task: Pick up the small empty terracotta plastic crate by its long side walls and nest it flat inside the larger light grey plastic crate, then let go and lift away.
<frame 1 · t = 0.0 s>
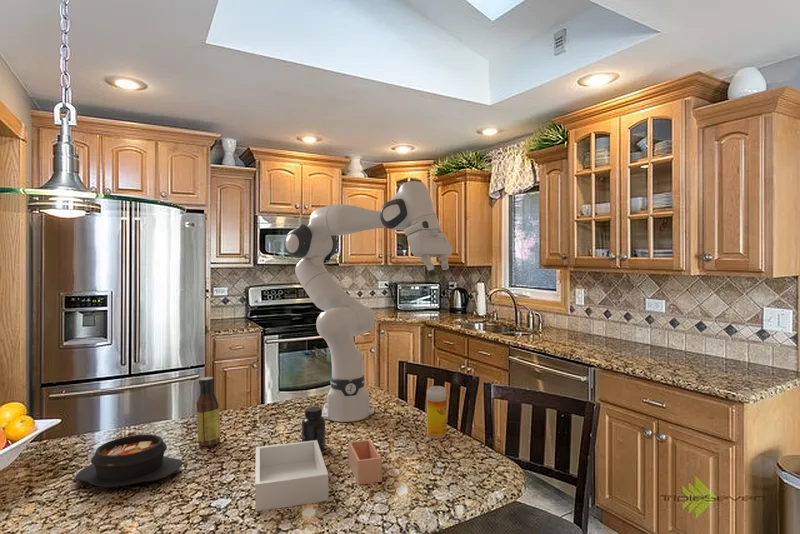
hand: (438, 269, 147), 52 cm above the kitchen island, tool tilted 20°, fingers open, 8 cm apart
terracotta crate: (364, 472, 122), on the kitchen island
supplement bottle: (313, 450, 137), on the kitchen island
sauce bottle: (208, 443, 143), on the kitchen island
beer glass: (436, 436, 147), on the kitchen island
casserole: (130, 477, 121), on the kitchen island
grey crate: (289, 484, 116), on the kitchen island
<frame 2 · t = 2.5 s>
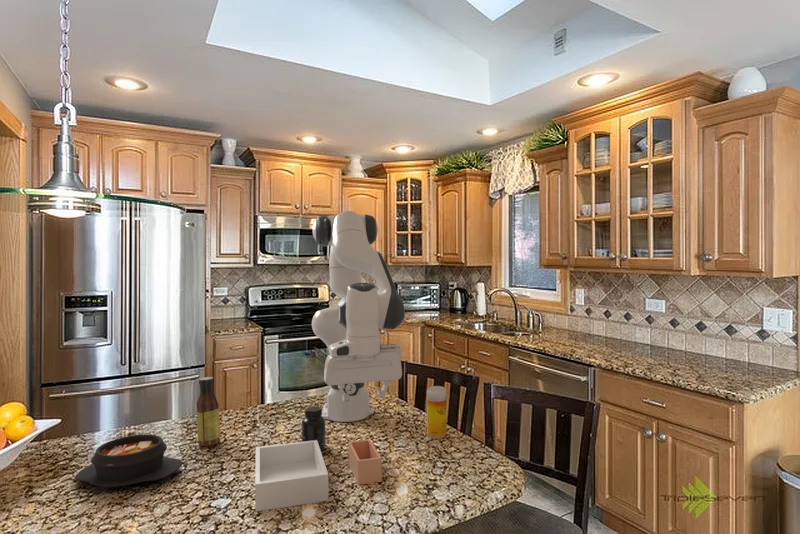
hand: (363, 399, 122), 19 cm above the kitchen island, tool pointing down, fingers open, 8 cm apart
nothing on the kitchen island moved.
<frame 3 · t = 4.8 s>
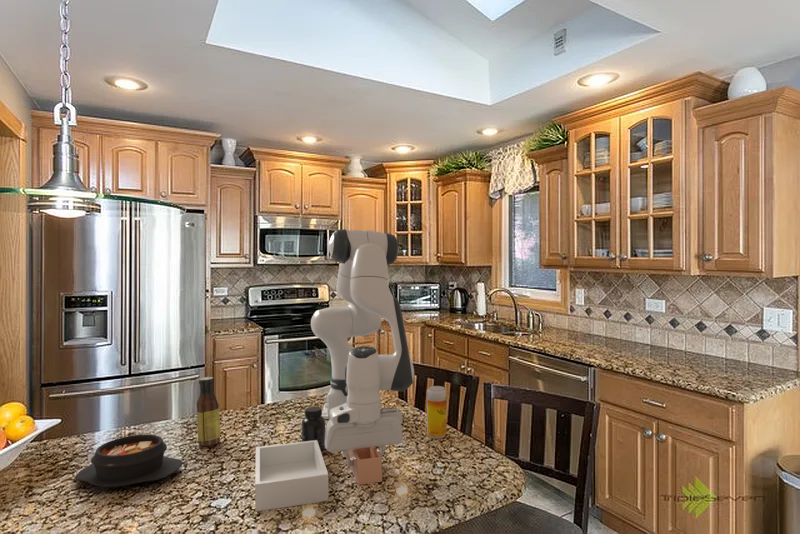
hand: (364, 463, 122), 2 cm above the kitchen island, tool pointing down, fingers closed on terracotta crate, 6 cm apart
terracotta crate: (364, 472, 122), on the kitchen island, touching gripper
everything else where it was.
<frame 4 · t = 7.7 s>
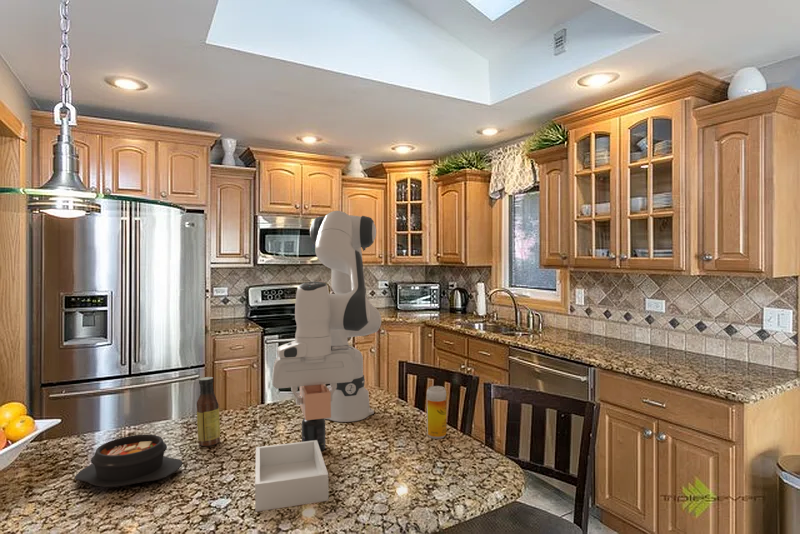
hand: (314, 402, 118), 20 cm above the kitchen island, tool pointing down, fingers closed on terracotta crate, 6 cm apart
terracotta crate: (314, 411, 118), point 17 cm above the kitchen island, touching gripper
everything else where it was.
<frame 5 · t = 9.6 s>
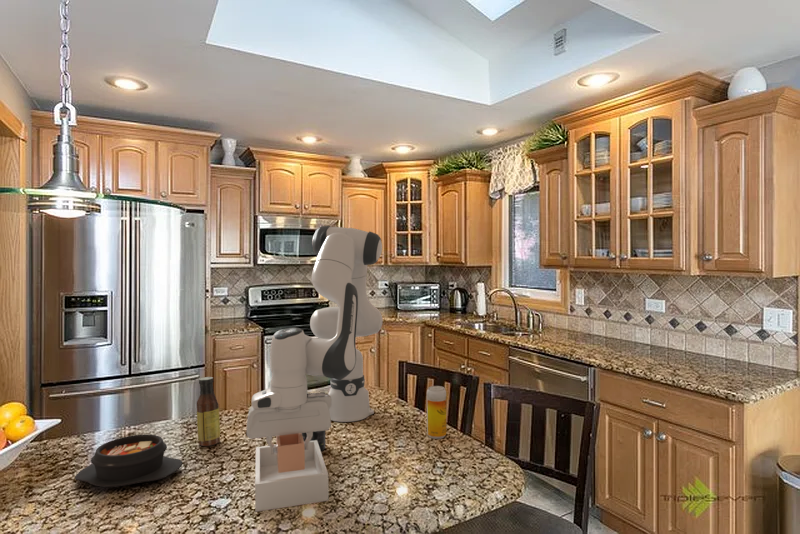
hand: (289, 451, 116), 8 cm above the kitchen island, tool pointing down, fingers closed on terracotta crate, 6 cm apart
terracotta crate: (289, 460, 116), point 6 cm above the kitchen island, touching gripper
everything else where it was.
when the fingers open (5 cm above the kitchen island, at t = 10.8 s): terracotta crate drops 1 cm, resting on grey crate.
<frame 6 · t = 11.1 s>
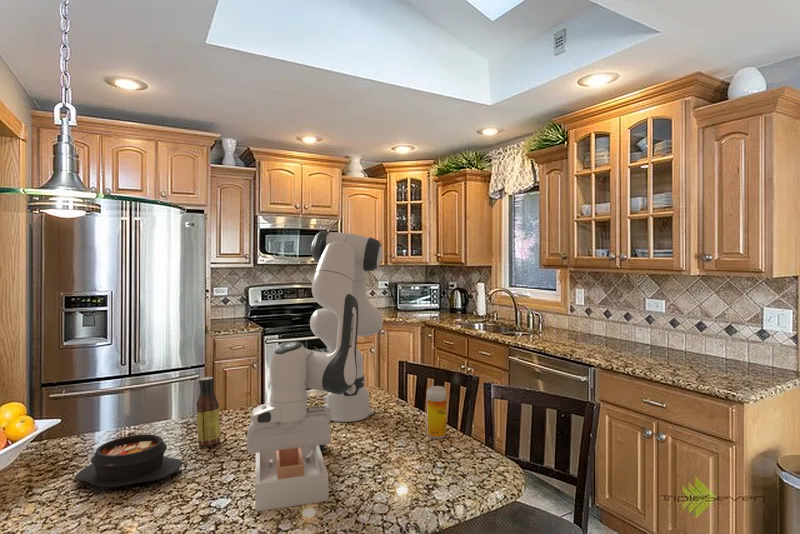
hand: (289, 465, 116), 5 cm above the kitchen island, tool pointing down, fingers open, 8 cm apart
terracotta crate: (289, 480, 116), point 1 cm above the kitchen island, touching grey crate
everything else where it was.
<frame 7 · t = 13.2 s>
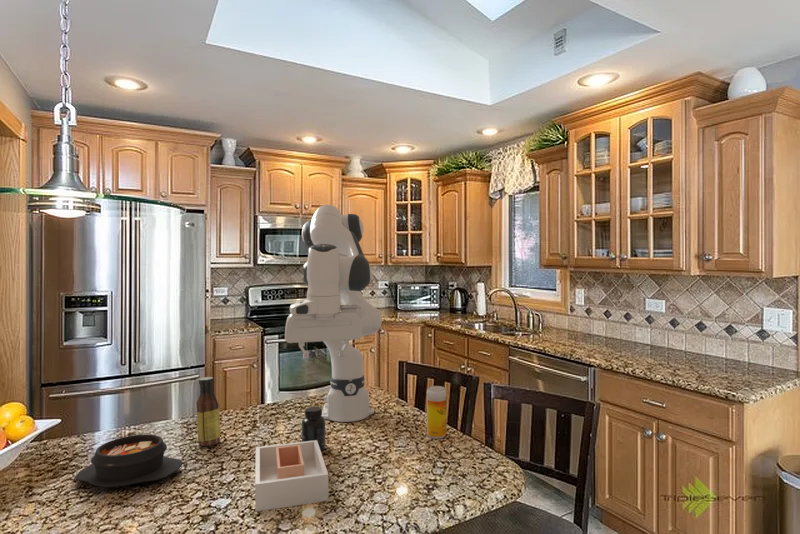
hand: (324, 357, 125), 29 cm above the kitchen island, tool pointing down, fingers open, 8 cm apart
nothing on the kitchen island moved.
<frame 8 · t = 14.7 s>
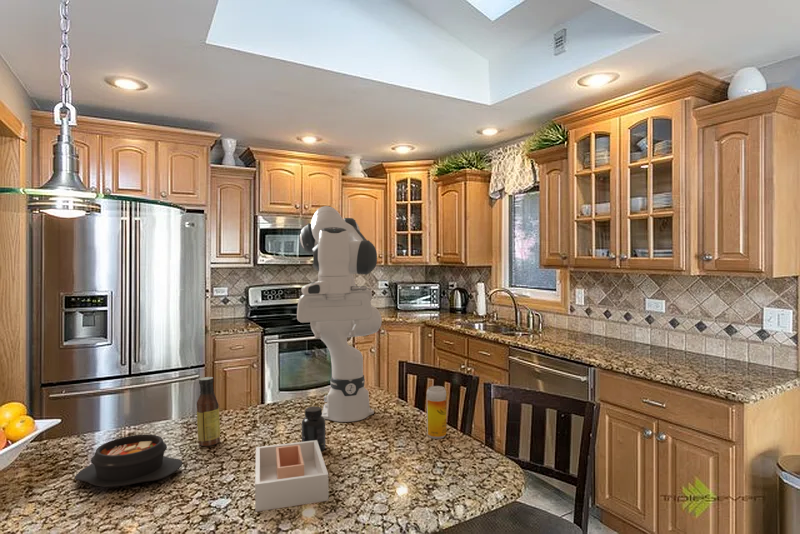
hand: (335, 337, 128), 34 cm above the kitchen island, tool pointing down, fingers open, 8 cm apart
nothing on the kitchen island moved.
at the end: terracotta crate inside the target area on the grey crate (0.0 cm from its centre), point 1.0 cm above the grey crate's base; terracotta crate tilted 0°; the gripper is holding nothing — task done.
